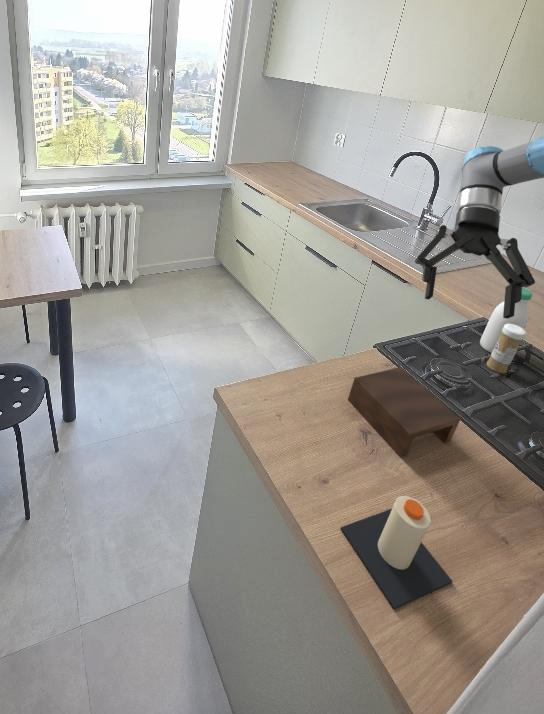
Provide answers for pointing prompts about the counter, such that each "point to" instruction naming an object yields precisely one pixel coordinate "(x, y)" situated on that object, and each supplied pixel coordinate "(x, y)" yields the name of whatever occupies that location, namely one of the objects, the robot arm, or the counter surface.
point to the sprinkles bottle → (506, 348)
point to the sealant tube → (403, 532)
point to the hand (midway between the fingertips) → (467, 307)
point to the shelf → (401, 408)
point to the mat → (390, 580)
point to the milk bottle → (505, 321)
